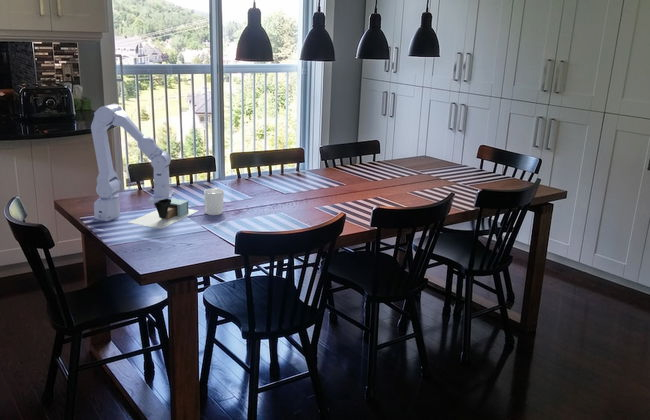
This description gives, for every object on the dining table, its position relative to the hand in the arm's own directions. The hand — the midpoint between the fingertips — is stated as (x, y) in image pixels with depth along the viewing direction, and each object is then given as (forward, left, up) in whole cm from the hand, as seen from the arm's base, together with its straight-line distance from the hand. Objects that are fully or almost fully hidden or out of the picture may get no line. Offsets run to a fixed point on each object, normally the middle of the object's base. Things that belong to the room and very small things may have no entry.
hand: (162, 217), depth 234 cm
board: (+4, +2, -2) cm, 5 cm away
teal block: (+10, 0, -1) cm, 10 cm away
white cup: (+18, -12, -2) cm, 22 cm away
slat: (+6, 0, -1) cm, 6 cm away
